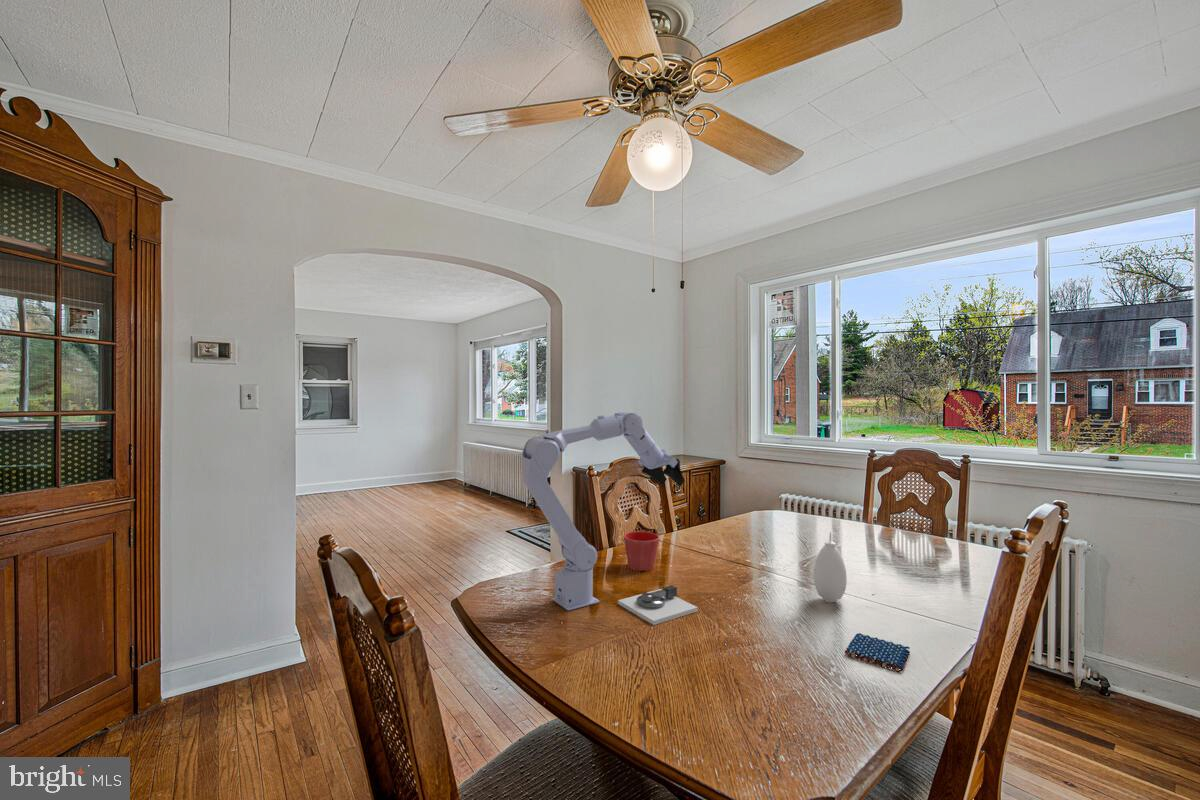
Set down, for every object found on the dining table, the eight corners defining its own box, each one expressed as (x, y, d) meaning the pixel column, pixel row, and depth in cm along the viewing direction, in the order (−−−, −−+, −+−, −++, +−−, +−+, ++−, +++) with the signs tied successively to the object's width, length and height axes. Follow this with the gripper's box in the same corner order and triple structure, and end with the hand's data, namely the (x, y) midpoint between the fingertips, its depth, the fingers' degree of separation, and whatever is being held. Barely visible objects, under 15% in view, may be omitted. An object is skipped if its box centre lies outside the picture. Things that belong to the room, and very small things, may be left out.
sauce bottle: (850, 608, 126) (850, 537, 126) (816, 606, 128) (817, 535, 128) (841, 596, 134) (842, 529, 134) (810, 594, 135) (811, 527, 135)
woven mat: (854, 639, 111) (854, 630, 111) (910, 655, 105) (910, 645, 105) (842, 657, 103) (842, 648, 103) (902, 676, 97) (902, 666, 97)
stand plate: (653, 625, 116) (653, 620, 116) (618, 604, 128) (618, 599, 128) (697, 611, 124) (697, 606, 124) (660, 592, 136) (660, 588, 136)
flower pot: (647, 575, 149) (647, 542, 149) (616, 567, 155) (617, 536, 155) (665, 566, 157) (665, 535, 157) (635, 559, 164) (636, 529, 164)
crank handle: (648, 610, 121) (648, 600, 121) (631, 600, 127) (631, 591, 127) (683, 600, 127) (683, 590, 127) (665, 591, 133) (665, 582, 133)
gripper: (671, 437, 134) (698, 473, 138) (638, 438, 146) (663, 471, 150) (656, 455, 131) (684, 492, 135) (624, 455, 143) (650, 489, 147)
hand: (672, 482), depth 142 cm, fingers open, 7 cm apart
